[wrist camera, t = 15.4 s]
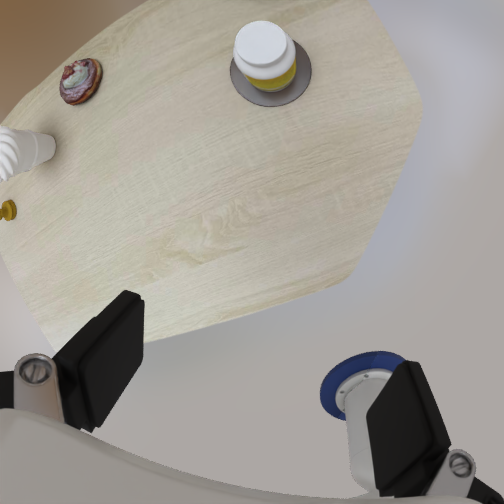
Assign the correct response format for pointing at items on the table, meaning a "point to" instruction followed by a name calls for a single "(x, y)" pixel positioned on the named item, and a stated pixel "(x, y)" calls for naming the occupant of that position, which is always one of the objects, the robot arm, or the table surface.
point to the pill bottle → (265, 55)
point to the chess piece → (8, 210)
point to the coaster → (275, 97)
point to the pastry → (80, 81)
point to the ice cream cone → (23, 151)
